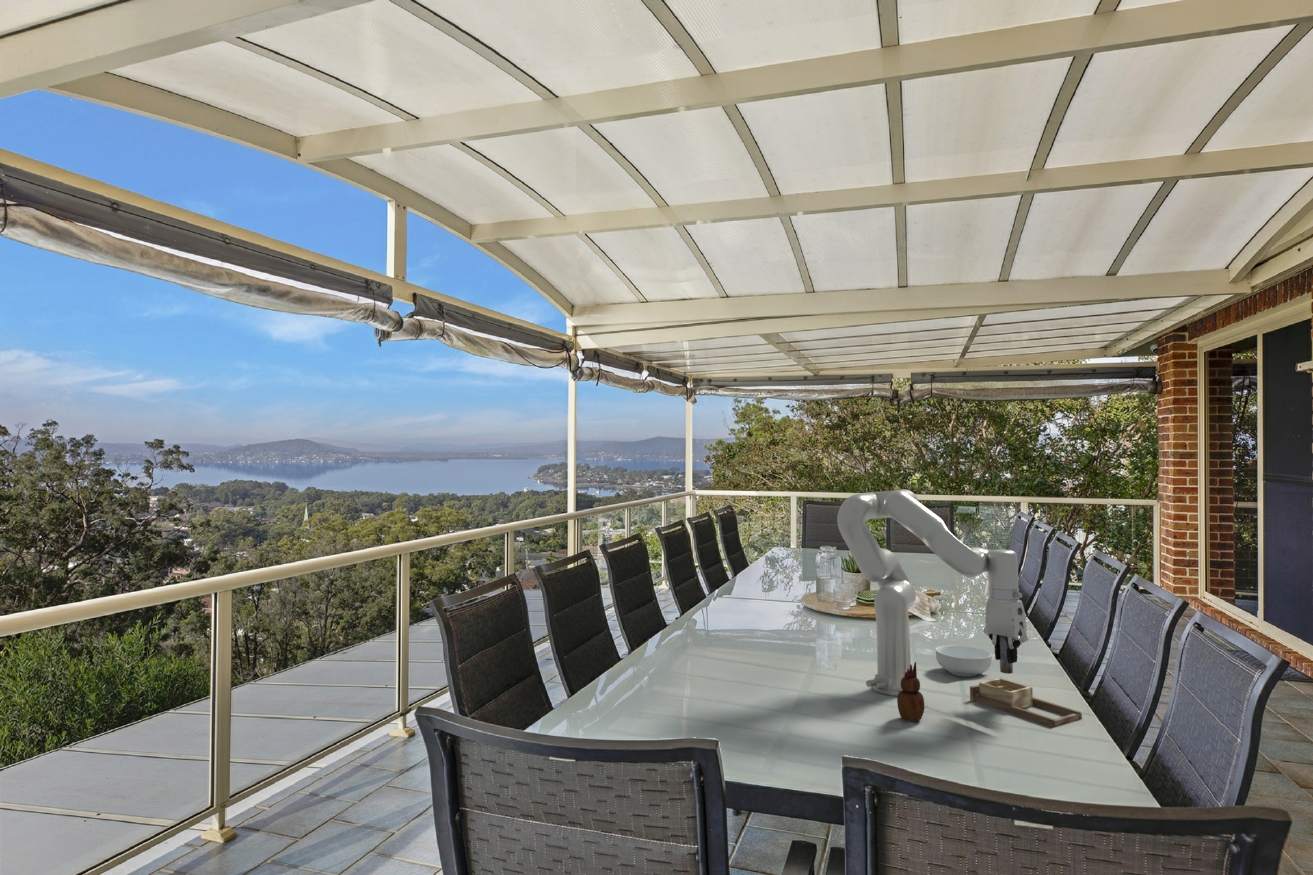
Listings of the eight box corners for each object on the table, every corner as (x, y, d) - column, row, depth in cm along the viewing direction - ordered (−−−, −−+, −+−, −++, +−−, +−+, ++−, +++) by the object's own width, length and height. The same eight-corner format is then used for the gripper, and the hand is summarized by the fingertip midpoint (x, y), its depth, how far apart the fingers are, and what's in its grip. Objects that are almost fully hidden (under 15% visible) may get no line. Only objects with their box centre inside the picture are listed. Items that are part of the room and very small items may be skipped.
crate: (1011, 711, 198) (1011, 692, 198) (979, 700, 207) (979, 682, 207) (1032, 705, 202) (1032, 687, 202) (1000, 695, 211) (1000, 677, 211)
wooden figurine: (919, 715, 199) (918, 659, 199) (927, 723, 193) (926, 665, 193) (894, 716, 198) (893, 660, 199) (902, 723, 193) (901, 666, 193)
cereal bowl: (998, 682, 227) (997, 659, 227) (941, 680, 230) (940, 657, 230) (985, 667, 243) (984, 645, 244) (932, 664, 247) (931, 643, 247)
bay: (1051, 732, 186) (1050, 712, 186) (970, 704, 207) (969, 686, 207) (1082, 723, 192) (1081, 703, 192) (1000, 697, 213) (1000, 679, 213)
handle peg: (1007, 674, 202) (1006, 637, 203) (997, 671, 205) (996, 635, 205) (1015, 672, 204) (1014, 636, 204) (1005, 669, 207) (1003, 633, 207)
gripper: (1039, 597, 200) (1042, 665, 199) (987, 588, 214) (989, 652, 214) (1022, 600, 196) (1024, 670, 196) (969, 591, 211) (971, 656, 210)
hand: (1006, 660), depth 205 cm, fingers closed on handle peg, 3 cm apart
